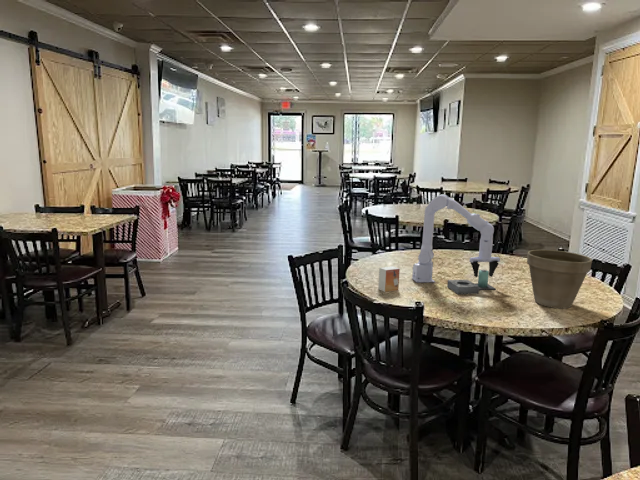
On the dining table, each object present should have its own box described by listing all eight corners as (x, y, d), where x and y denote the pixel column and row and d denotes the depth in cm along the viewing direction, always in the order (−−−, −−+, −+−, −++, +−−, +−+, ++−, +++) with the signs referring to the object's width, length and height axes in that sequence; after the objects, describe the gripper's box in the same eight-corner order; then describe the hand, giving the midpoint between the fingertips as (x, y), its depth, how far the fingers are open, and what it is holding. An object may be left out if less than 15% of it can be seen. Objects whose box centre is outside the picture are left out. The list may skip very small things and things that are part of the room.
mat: (477, 290, 227) (478, 289, 227) (469, 284, 236) (469, 283, 236) (495, 289, 228) (495, 288, 228) (486, 284, 237) (486, 283, 237)
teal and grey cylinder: (480, 287, 229) (481, 271, 228) (476, 284, 234) (477, 269, 232) (489, 287, 230) (490, 271, 228) (485, 284, 234) (486, 269, 233)
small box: (384, 292, 221) (385, 270, 219) (377, 289, 226) (378, 267, 224) (398, 290, 224) (400, 268, 222) (391, 287, 229) (392, 265, 227)
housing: (457, 294, 220) (458, 287, 219) (447, 286, 231) (447, 279, 231) (478, 293, 221) (479, 286, 221) (466, 286, 233) (467, 279, 232)
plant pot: (576, 297, 219) (582, 251, 215) (593, 315, 195) (600, 263, 191) (518, 292, 224) (522, 247, 220) (528, 309, 201) (533, 259, 196)
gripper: (475, 250, 223) (472, 279, 226) (504, 250, 226) (501, 278, 228) (468, 247, 230) (466, 275, 233) (496, 247, 232) (494, 274, 235)
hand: (483, 276), depth 231 cm, fingers open, 7 cm apart
